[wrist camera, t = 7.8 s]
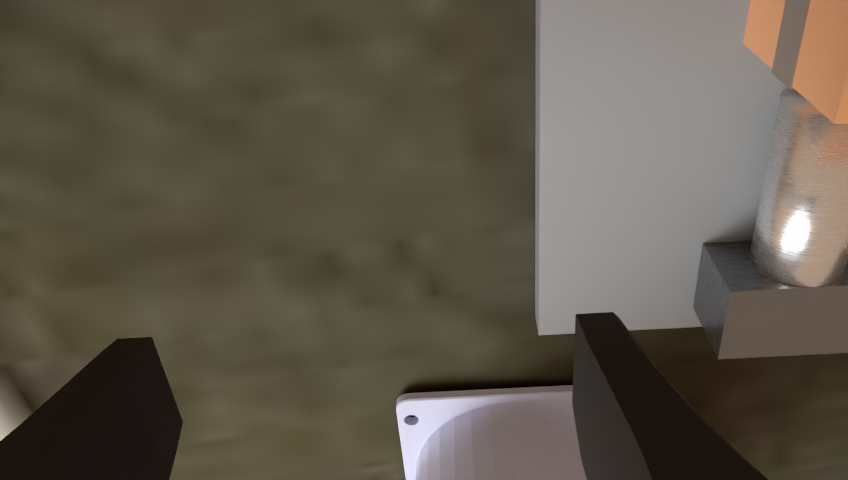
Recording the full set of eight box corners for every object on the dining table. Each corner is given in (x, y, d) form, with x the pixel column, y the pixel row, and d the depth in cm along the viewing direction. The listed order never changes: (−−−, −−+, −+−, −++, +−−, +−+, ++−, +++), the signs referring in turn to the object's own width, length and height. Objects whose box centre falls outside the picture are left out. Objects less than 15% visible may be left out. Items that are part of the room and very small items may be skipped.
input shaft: (823, 280, 23) (876, 351, 21) (684, 288, 24) (717, 359, 21) (880, 63, 20) (956, 112, 17) (713, 75, 20) (760, 125, 17)
